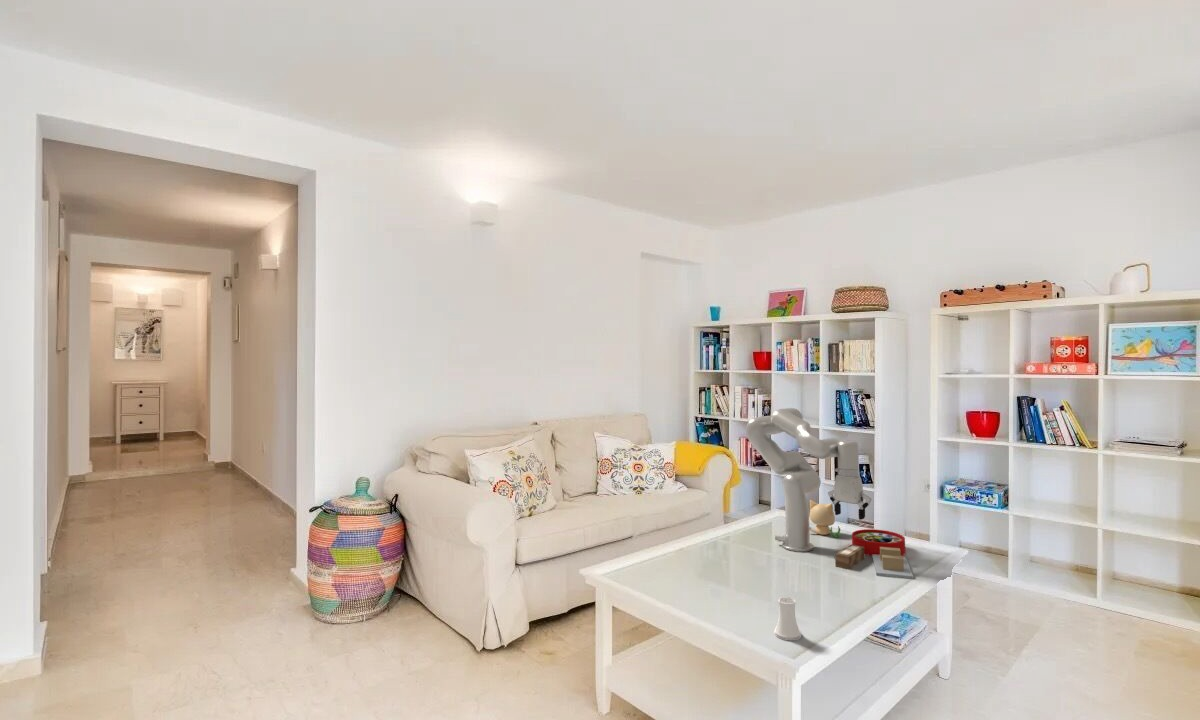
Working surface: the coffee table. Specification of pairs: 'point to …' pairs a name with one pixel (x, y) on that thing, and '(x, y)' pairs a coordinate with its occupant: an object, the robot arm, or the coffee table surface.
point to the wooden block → (849, 557)
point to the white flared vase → (787, 620)
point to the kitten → (822, 518)
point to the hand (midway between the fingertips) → (849, 516)
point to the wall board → (891, 572)
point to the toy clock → (877, 540)
